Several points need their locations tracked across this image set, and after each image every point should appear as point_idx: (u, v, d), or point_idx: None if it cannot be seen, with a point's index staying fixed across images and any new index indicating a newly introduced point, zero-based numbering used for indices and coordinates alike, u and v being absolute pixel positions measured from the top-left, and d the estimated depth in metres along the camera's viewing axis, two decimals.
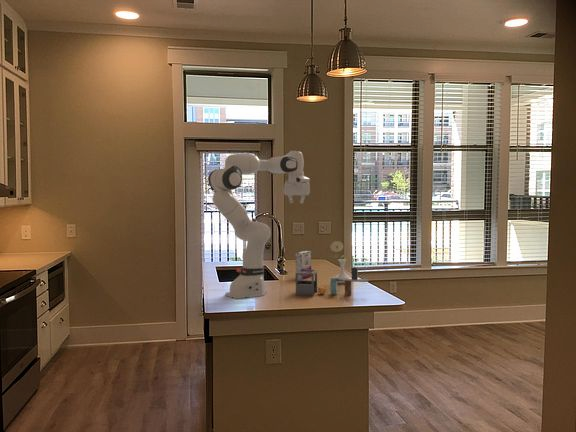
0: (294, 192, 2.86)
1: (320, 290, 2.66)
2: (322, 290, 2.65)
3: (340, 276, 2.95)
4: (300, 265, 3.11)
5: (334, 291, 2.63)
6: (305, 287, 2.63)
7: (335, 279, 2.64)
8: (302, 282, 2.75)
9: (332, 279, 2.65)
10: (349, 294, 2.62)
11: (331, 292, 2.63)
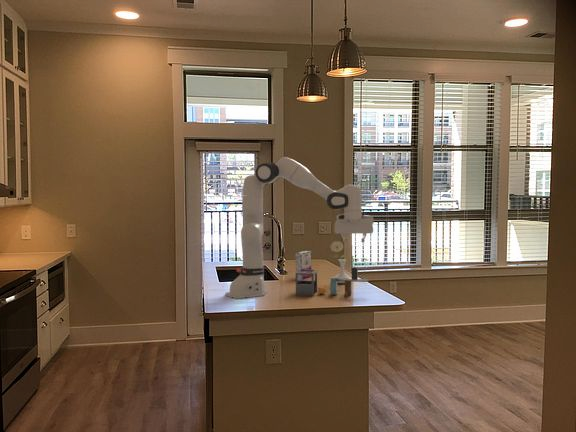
0: None
1: (320, 290, 2.66)
2: (322, 290, 2.65)
3: (340, 276, 2.95)
4: (300, 265, 3.11)
5: (334, 291, 2.63)
6: (305, 287, 2.63)
7: (335, 279, 2.64)
8: (302, 282, 2.75)
9: (332, 279, 2.65)
10: (349, 294, 2.62)
11: (331, 292, 2.63)
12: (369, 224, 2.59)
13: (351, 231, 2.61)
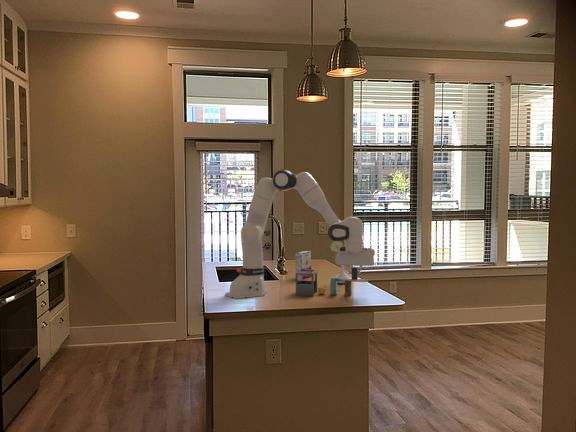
0: None
1: (320, 290, 2.66)
2: (322, 290, 2.65)
3: (340, 276, 2.95)
4: (300, 265, 3.11)
5: (334, 291, 2.63)
6: (305, 287, 2.63)
7: (335, 279, 2.64)
8: (302, 282, 2.75)
9: (332, 279, 2.65)
10: (349, 294, 2.62)
11: (331, 292, 2.63)
12: (370, 256, 2.59)
13: (352, 263, 2.61)
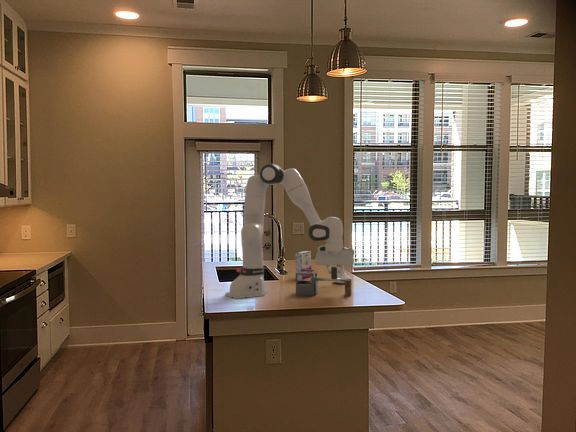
0: None
1: None
2: None
3: (340, 276, 2.95)
4: (300, 265, 3.11)
5: (314, 290, 2.65)
6: (305, 287, 2.63)
7: (315, 278, 2.67)
8: (302, 282, 2.75)
9: None
10: (349, 294, 2.62)
11: None
12: (349, 256, 2.61)
13: (332, 263, 2.63)
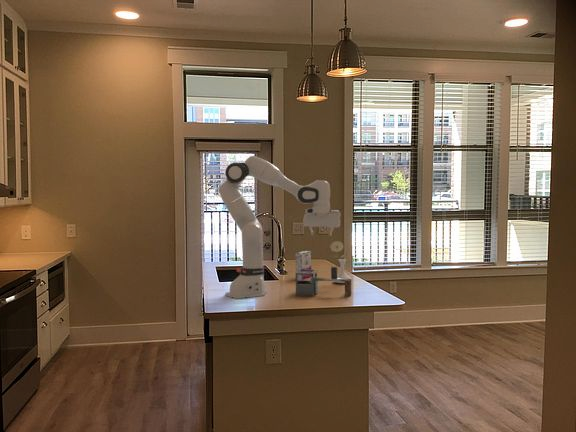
0: None
1: None
2: None
3: (340, 276, 2.95)
4: (300, 265, 3.11)
5: (314, 290, 2.65)
6: (305, 287, 2.63)
7: (315, 278, 2.67)
8: (302, 282, 2.75)
9: None
10: (349, 294, 2.62)
11: None
12: (336, 218, 2.68)
13: (319, 224, 2.71)
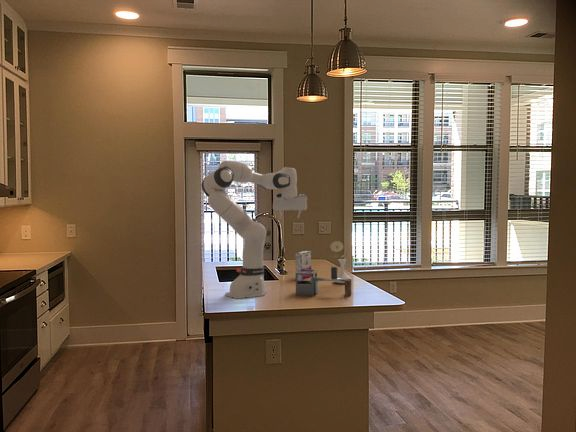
0: None
1: None
2: None
3: (340, 276, 2.95)
4: (300, 265, 3.11)
5: (314, 290, 2.65)
6: (305, 287, 2.63)
7: (315, 278, 2.67)
8: (302, 282, 2.75)
9: None
10: (349, 294, 2.62)
11: None
12: (303, 202, 2.93)
13: (287, 208, 2.94)
